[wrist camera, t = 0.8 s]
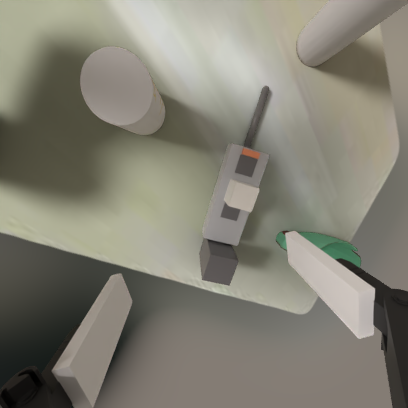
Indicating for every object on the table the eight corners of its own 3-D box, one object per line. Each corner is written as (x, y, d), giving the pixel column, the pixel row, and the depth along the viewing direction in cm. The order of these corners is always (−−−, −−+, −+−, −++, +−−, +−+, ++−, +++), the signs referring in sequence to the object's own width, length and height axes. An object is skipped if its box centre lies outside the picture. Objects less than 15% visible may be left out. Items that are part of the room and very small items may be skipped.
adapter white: (223, 199, 35) (228, 206, 30) (230, 178, 34) (236, 182, 29) (243, 205, 35) (251, 212, 31) (251, 184, 34) (260, 188, 30)
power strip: (201, 229, 40) (203, 239, 36) (247, 80, 34) (256, 69, 29) (232, 237, 41) (238, 247, 37) (283, 93, 35) (296, 84, 30)
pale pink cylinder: (174, 113, 34) (167, 92, 22) (142, 144, 35) (119, 139, 23) (141, 73, 32) (114, 28, 20) (108, 108, 33) (64, 82, 21)
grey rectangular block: (199, 254, 41) (201, 280, 33) (210, 218, 39) (216, 237, 31) (220, 258, 42) (229, 286, 33) (232, 224, 40) (244, 244, 31)
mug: (330, 231, 42) (372, 254, 33) (307, 267, 44) (340, 298, 35) (276, 205, 40) (304, 221, 30) (253, 244, 42) (273, 271, 32)
